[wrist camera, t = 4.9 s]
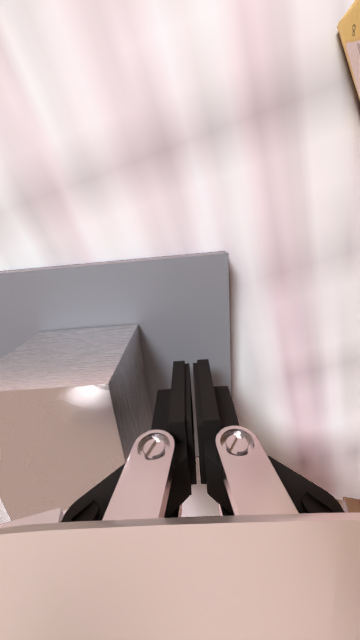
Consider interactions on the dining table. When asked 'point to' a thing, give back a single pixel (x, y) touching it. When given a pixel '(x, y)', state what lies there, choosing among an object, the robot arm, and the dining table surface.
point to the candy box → (352, 41)
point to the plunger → (69, 414)
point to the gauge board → (130, 310)
